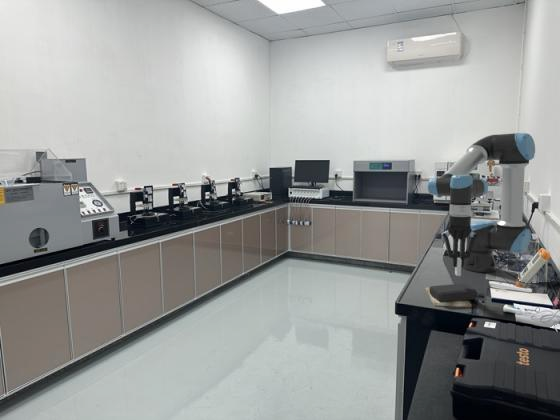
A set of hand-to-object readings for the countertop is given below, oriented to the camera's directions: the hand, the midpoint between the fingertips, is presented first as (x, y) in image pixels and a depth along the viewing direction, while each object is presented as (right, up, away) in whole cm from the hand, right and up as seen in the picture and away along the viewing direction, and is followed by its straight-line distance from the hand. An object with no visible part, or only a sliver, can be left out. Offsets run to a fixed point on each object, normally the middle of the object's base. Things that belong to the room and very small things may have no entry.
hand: (457, 274), depth 151 cm
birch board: (-3, -9, +2) cm, 10 cm away
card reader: (+5, -6, 0) cm, 8 cm away
